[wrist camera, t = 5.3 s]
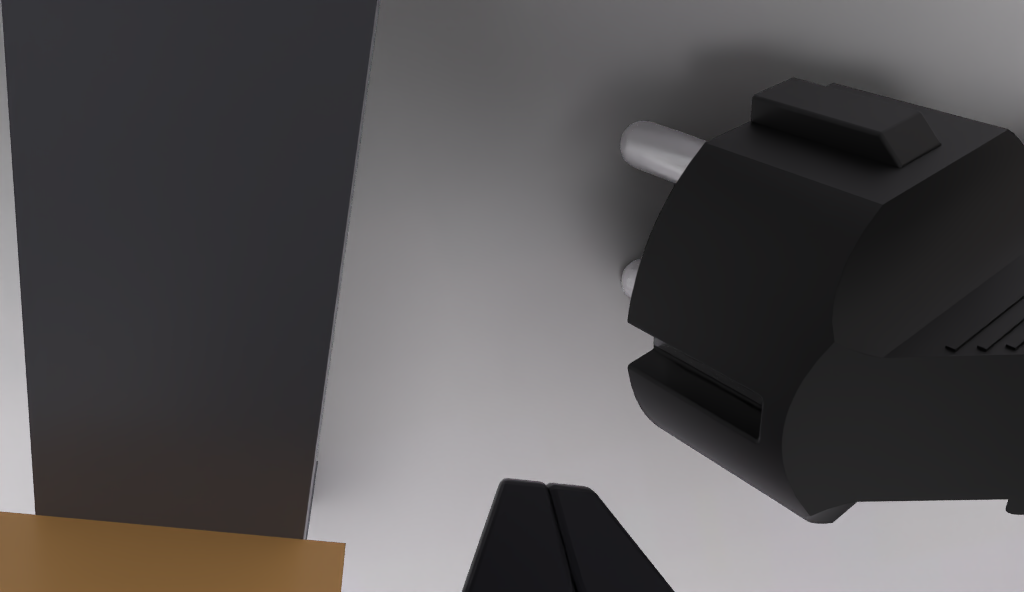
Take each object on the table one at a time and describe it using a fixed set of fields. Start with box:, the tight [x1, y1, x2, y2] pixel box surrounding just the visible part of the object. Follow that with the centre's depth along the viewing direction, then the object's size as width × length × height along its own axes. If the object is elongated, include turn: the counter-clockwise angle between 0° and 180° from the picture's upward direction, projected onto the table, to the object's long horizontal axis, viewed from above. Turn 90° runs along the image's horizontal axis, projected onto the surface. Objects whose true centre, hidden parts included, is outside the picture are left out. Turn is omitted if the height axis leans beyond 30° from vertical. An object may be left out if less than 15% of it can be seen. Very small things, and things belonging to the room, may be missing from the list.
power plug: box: [620, 78, 1024, 524], centre depth 15 cm, size 6×8×12 cm
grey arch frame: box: [0, 0, 380, 592], centre depth 10 cm, size 2×16×10 cm, turn 168°
